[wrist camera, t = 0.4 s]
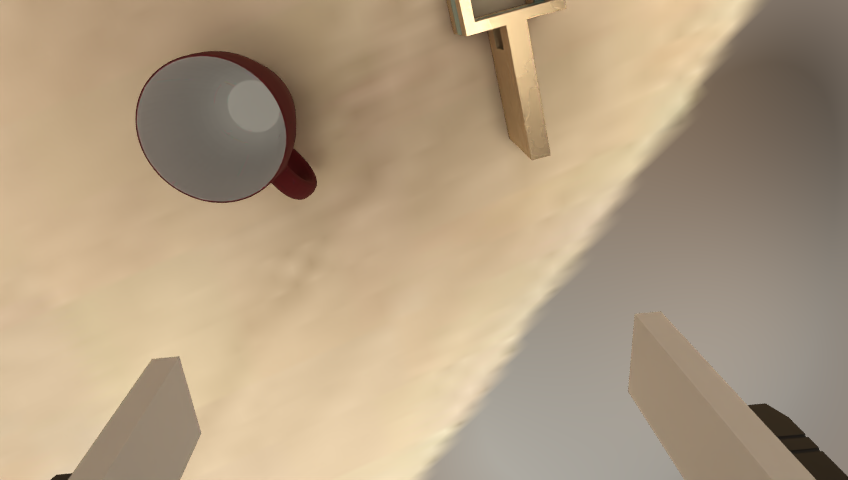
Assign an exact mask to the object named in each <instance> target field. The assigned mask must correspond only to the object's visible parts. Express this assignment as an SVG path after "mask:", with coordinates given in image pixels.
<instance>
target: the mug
mask: <svg viewBox="0 0 848 480" xmlns="http://www.w3.org/2000/svg"><path fill="white" fill-rule="evenodd" d="M136 130H137V136H138V140H139V143H140V146H141V148H142V151H143V153H144V155H145V157H146V158H147V160H148V162H149V163H150V165H151V166H152V167H153V169H154V170H155V171H156V172H157V173H158V175H159V176H160V177H161V178H163V179H164V180H165V181H166V182H167V183H168V184H169V185H171V186H172V187H174V188H175V189H177V190H178V191H180V192H182V193H184V194H186V195H188V196H190V197H193V198H196V199H199V200H203V201H208V202H216V203H227V202H235V201H240V200H243V199H246V198H249V197H251V196H253V195H255V194H257V193H258V192H260V191H261V190H263V189H264V188H265V187H267V186H268V185H269V184H270V183H272V184H273V185H274V186H275V187H276V188H277V189H278V190H280V191H281V192H282V193H283V194H285V195H286V196H288V197H290V198H293V199H298V200H301V199H305V198H307V197H308V196H310V195H311V194H312V193H313V192H314V190H315V188H316V186H317V180H316V176H315V174H314V172H313V170H312V169H311V167H310V166H309V164H308V163H307V162H306V161H305V159H304V158H303V157H302V156H301V155H300V154H299V153H298V152H297V151H296V150H295V149H294V148H293V146H294V142H295V136H296V115H295V106H294V102H293V99H292V96H291V94H290V92H289V90H288V88H287V87H286V85H285V84H284V83H283V81H282V80H281V79H280V78H279V77H278V76H277V75H276V74H275V73H274V72H272V71H271V70H270V69H268V68H267V67H265V66H263V65H261V64H259V63H257V62H255V61H254V60H251V59H249V58H247V57H244V56H241V55H238V54H234V53H230V52H222V51H208V52H201V53H195V54H190V55H187V56H183V57H180V58H177V59H175V60H172V61H170V62H168V63H167V64H165V65H163V66H162V67H161V68H159V69H158V70H157V71H156V72H155V73H154V74H153V75H152V76H151V77H150V78H149V80H148V81H147V82H146V84H145V85H144V87H143V89H142V91H141V94H140V96H139V99H138V103H137V108H136Z"/></svg>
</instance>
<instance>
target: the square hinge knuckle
mask: <svg viewBox="0 0 848 480" xmlns="http://www.w3.org/2000/svg"><path fill="white" fill-rule="evenodd" d="M446 1H447V5H448V10H449V14H450V19H451V23H452V28H453V32H454V34H458V32H457V28H456V23H455V19H454V14H453V10H452V5H451V1H450V0H446ZM525 2H526V4H523V5H520V6H516V7H513V8H509V9H506V10H502V11H498V12H495V13H491V14H488V15H484V16H481V17H477V18H474V15H473V11H472V6H471V1H470V0H455V4H456V9H457V13H458V18H459V22H460V27H461V32H462V35H464V36H469V35H473V34H476V33H480V32H484V31H488V36H489V41H490V46H491V51H492V56H493V60H494V65H495V70H496V75H497V80H498V85H499V90H500V95H501V100H502V105H503V110H504V115H505V120H506V125H507V130H508V135H509V138H510V139H511V140H512V141H513V142H514V143H515V144H516V145H517V146H518V147H519V148H520V149H521V150H522V151H523V152H524V153H525V154H526V155H527V156H528V157H529V158H530V159H531V160H535V159H538V158H542V157H546V156H550V149H549V143H548V138H547V132H546V126H545V121H544V115H543V109H542V103H541V98H540V92H539V86H538V80H537V75H536V69H535V63H534V58H533V52H532V46H531V40H530V35H529V29H528V23H527V19H530V18H534V17H537V16H541V15H544V14H548V13H552V12H555V11H559V10H562V9H566V2H565V0H544V2H540V3H537V4H533V5H529V6H526V7H522V8H519V9H515V10H512V11H508V12H505V13H501V14H497V15H494V16H490V17H487V18H483V19H480V20H476V21H475V19H478V18H482V17H485V16H489V15H492V14H496V13H500V12H503V11H507V10H510V9H514V8H517V7H521V6H525V5H528V4H532V3H535V1H534V0H525Z"/></svg>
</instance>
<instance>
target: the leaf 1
mask: <svg viewBox="0 0 848 480" xmlns="http://www.w3.org/2000/svg"><path fill="white" fill-rule="evenodd" d="M450 1H451V5H452V10H453V14H454V19H455V23H456V28H457V32H458V35H462V32H461V27H460V22H459V18H458V13H457V9H456V4H455V0H450ZM534 1H535V3H532V4H528V5H525V6H521V7H517V8H514V9H510V10H507V11H503V12H500V13H496V14H492V15H489V16H485V17H482V18H478V19H475V21H476V20H480V19H483V18H487V17H490V16H494V15H497V14H501V13H505V12H508V11H512V10H515V9H519V8H522V7H526V6H529V5H533V4H537V3H540V2H544V0H534Z"/></svg>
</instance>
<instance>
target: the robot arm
mask: <svg viewBox="0 0 848 480" xmlns="http://www.w3.org/2000/svg"><path fill="white" fill-rule="evenodd" d="M628 392H629V394H630V395H631V397H632V398H633V400H634V401H635V403H636V405H637V406H638V408H639V409H640V411H641V412H642V414H643V416H644V417H645V418H646V420H647V422H648V423H649V425H650V427H651V428H652V430H653V431H654V433H655V434H656V436H657V438H658V439H659V441H660V442H661V444H662V445H663V447H664V448H665V450H666V452H667V453H668V455H669V456H670V458H671V459H672V461H673V462H674V464H675V465H676V467H677V469H678V470H679V472H680V473H681V475H682V477H683V478H684V480H848V476H847V475H846V474H844V473H843V471H842V470H841V469H840V468H838V466H837V465H836V464H835V463H834V462H833V461H832V460H831V459H830V458H829V457H827V455H826V454H825V453H824V452H823V451H819V448H818V446H817V445H816V444H815V443H814V442H813V441H812V440H811V439H810V438H809V437H806V436H805V433H804V432H803V431H802V430H801V429H800V428H798V426H797V425H796V424H794V423H793V421H792V420H791V419H790V418H789V417H787V416H785V415H784V414H782V413H780V412H779V411H777V410H775V409H774V408H772V407H770V406H769V405H767V404H755V405H747V404H746V403H745V402H744V401H743V400H742V399H741V398H740V397H739V396H738V395H737V393H736V392H735V391H734V390H733V389H732V388H731V387H730V386H729V385H728V384H727V383H726V382H725V380H723V378H722V377H721V376H720V375H719V374H718V373H717V372H716V371H715V370H714V369H713V368H712V366H711V365H710V364H709V363H708V362H707V361H706V360H705V359H704V358H703V357H702V356H701V355H700V353H699V352H698V351H697V350H696V349H695V348H694V347H693V346H692V345H691V344H690V343H689V342H688V341H687V339H686V338H685V337H684V336H683V335H682V334H681V333H680V332H679V331H678V330H677V329H676V328H675V326H674V325H673V324H672V323H671V322H670V321H669V320H668V319H667V318H666V317H665V316H664V315H663V314H662V312H661V311H660V312H650V313H639V314H635V317H634V328H633V340H632V353H631V363H630V376H629V387H628ZM200 435H201V431H200V427H199V424H198V420H197V417H196V413H195V410H194V406H193V403H192V399H191V396H190V392H189V389H188V385H187V382H186V378H185V375H184V372H183V368H182V365H181V361H180V358H179V357H169V358H159V359H152V360H151V361H150V363H149V364H148V366H147V367H146V368H145V370H144V371H143V373H142V374H141V376H140V377H139V378H138V380H137V381H136V383H135V384H134V386H133V387H132V389H131V390H130V391H129V393H128V394H127V396H126V397H125V399H124V400H123V401H122V403H121V404H120V406H119V407H118V409H117V410H116V412H115V413H114V414H113V416H112V417H111V419H110V420H109V422H108V423H107V424H106V426H105V427H104V429H103V430H102V432H101V433H100V434H99V436H98V437H97V439H96V440H95V442H94V443H93V445H92V446H91V447H90V449H89V450H88V452H87V453H86V455H85V456H84V457H83V459H82V460H81V462H80V463H79V465H78V466H77V468H76V469H75V470H74V472H73V473H71V474H61V475H56V476H55V477H53V478H52V479H51V480H180V479H181V477H182V474H183V472H184V470H185V468H186V466H187V463H188V461H189V459H190V457H191V455H192V452H193V450H194V448H195V446H196V444H197V441H198V439H199V437H200Z"/></svg>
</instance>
